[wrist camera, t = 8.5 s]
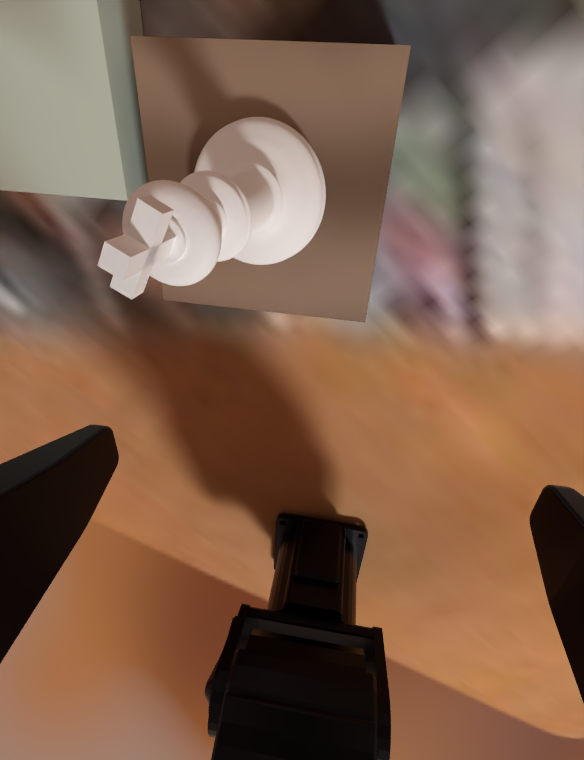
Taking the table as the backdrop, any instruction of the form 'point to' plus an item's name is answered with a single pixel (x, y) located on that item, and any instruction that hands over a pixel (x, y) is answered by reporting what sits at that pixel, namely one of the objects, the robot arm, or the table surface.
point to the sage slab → (70, 98)
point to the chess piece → (221, 209)
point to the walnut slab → (310, 119)
